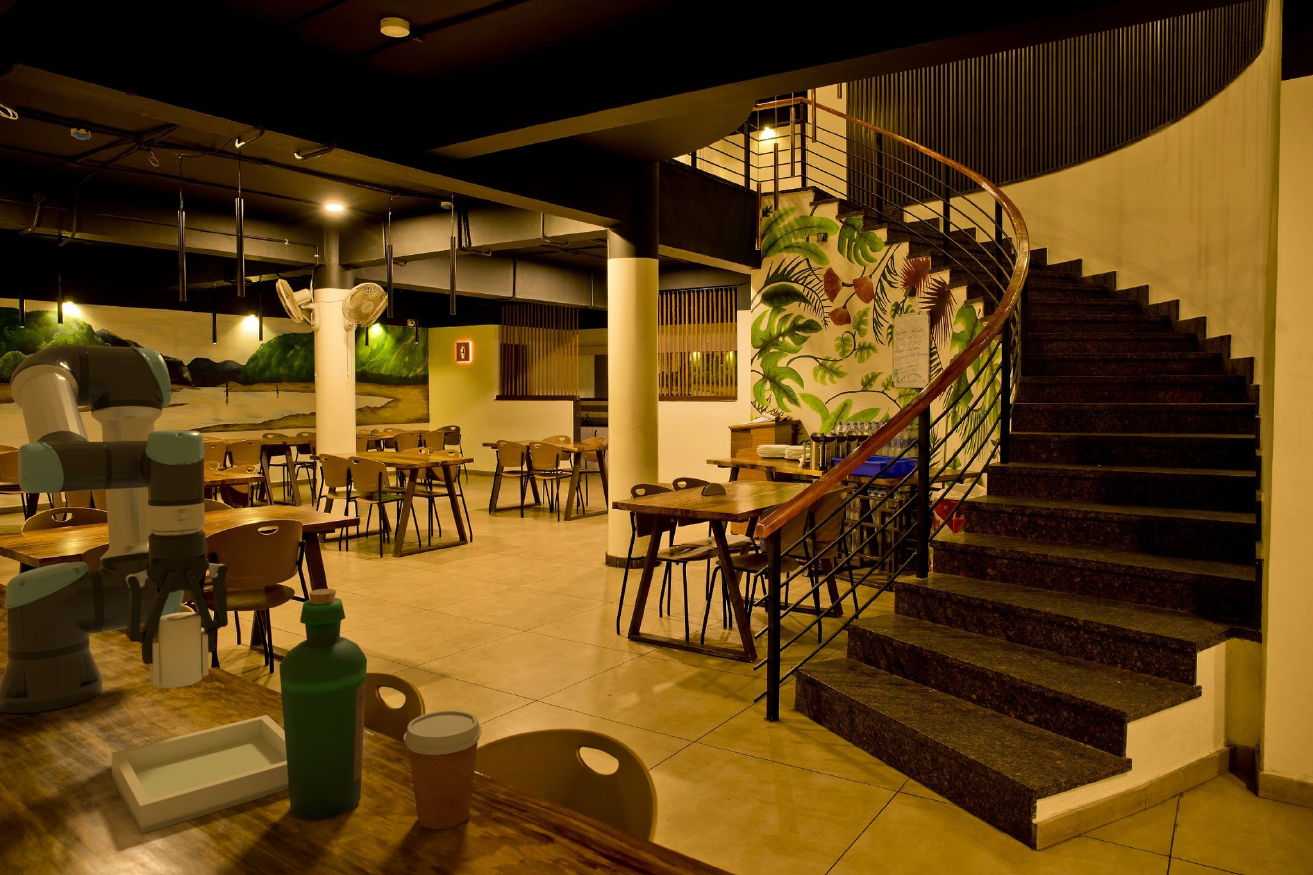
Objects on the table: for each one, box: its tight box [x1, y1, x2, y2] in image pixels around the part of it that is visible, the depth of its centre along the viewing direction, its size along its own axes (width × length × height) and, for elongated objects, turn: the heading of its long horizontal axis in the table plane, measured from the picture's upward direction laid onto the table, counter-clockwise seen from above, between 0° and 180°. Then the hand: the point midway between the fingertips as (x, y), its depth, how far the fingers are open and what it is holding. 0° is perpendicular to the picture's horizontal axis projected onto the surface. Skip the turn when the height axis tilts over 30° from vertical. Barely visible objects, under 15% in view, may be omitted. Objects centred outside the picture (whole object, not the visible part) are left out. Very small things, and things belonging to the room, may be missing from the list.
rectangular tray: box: [111, 714, 289, 835], centre depth 112 cm, size 20×20×4 cm
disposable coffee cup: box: [403, 710, 483, 830], centre depth 101 cm, size 10×10×12 cm
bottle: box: [279, 588, 368, 820], centre depth 104 cm, size 11×11×28 cm
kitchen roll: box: [155, 611, 203, 689], centre depth 125 cm, size 6×6×10 cm
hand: (179, 677), depth 125 cm, fingers closed on kitchen roll, 6 cm apart
